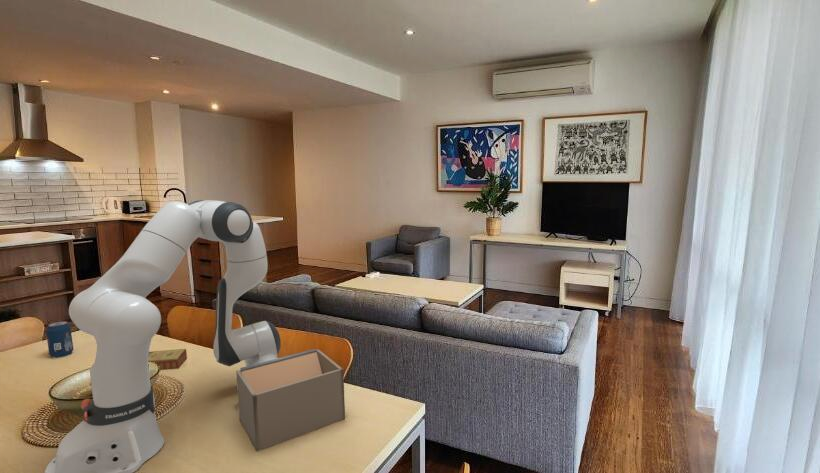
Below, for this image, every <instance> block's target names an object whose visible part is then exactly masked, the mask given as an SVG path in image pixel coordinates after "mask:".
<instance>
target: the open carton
mask: <svg viewBox="0 0 820 473" xmlns="http://www.w3.org/2000/svg"><path fill="white" fill-rule="evenodd" d="M316 351H317V356H318V359H319V363H320V367H321V371H322V374H321V375H317V376H314V377H310V378H307V379H304V380H300V381H297V382H294V383H290V384H287V385H283V386H280V387H277V388H273V389H270V390H266V391H263V392H260V393H255V392H254V390H253V389H252V388H251V386H250V385H249V383H248V382H247V380H246V379H245V377H244V376H243V375H242V373H241V371H240V369H237V370H236V371H235V374H236V386H237V388H236V389H237V400H238V401H237V403H238V415H239V421H240V424H241V425H242V428H243V429H244V431H245V433H246V434H247V436H248V438H249V440H250V442H251V444H252V446H253V447H254V450H255V451H256V452H260V451H263V450H265V449H268V448H270V447H273V446H276V445H279V444H282V443H284V442H287V441H290V440H292V439H295V438H298V437H300V436H304V435H306V434H308V433H311V432H313V431H317V430H319V429H322V428H324V427H327V426H330V425H332V424H336V423H339V422H341V421H343V420H346V409H345V408H346V406H345V379H344V378H345V376H344V374H345V372H344V368H342V367H341V366H340V365H339V364H338V363H336V361H334V360H332V359H331V358H330V356H329V357H328V355H326V354H325V353H324V352H322V350H320V349H316Z"/></svg>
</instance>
